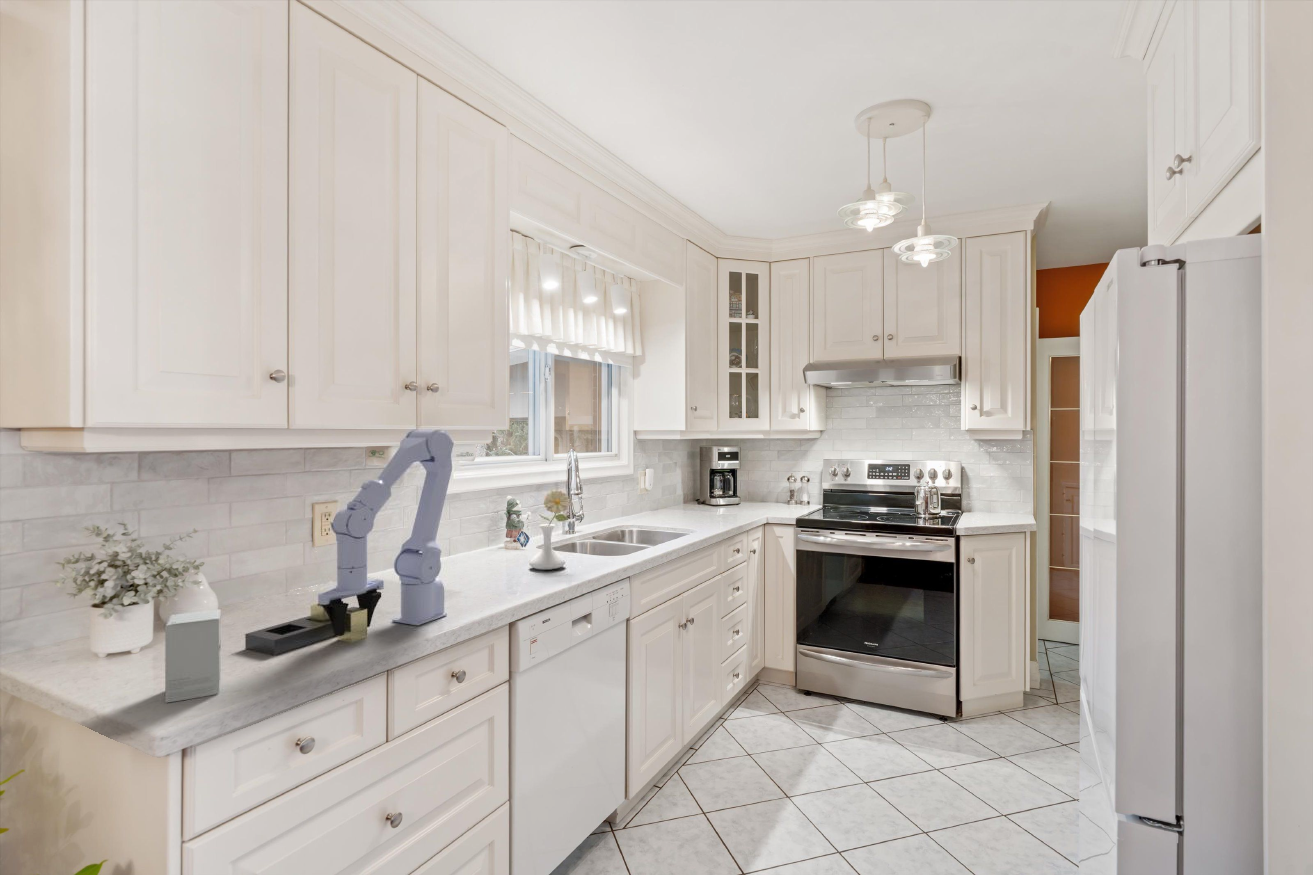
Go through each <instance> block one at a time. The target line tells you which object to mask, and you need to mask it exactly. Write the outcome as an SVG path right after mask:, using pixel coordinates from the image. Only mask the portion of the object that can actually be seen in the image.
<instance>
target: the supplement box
mask: <svg viewBox="0 0 1313 875" xmlns="http://www.w3.org/2000/svg"><path fill="white" fill-rule="evenodd" d="M221 614H222V613H221V609H218V608H217V609H210V610H209V609H208V610H202V611H192V612H185V613H177V614H172V615H169V618H168V620H167V621H166V624H165V630H164V632H165V638H164V639H165V641H164V642H165V643H164V644H165V646H164V647H165V648H164V650H165V654H164V655H165V658H164V660H165V661H164V662H165V663H164V664H165V665H164V666H165V670H164V671H165V672H164V673H165V676H164V678H165V682H164V683H165V684H164V686H165V688H164V691H165V693H164V694H165V697H164V699H165V700H164V703H173V702H180V701H185V700H191V699H197V698H203V697H210V696H215V695H219V693H220V683H221V675H222V674H221V671H222V670H221V668H222V667H221V665H222V661H221V659H222V657H221V656H222V652H221V651H222V648H221V647H222V645H221V643H222V632H221V631H222V615H221Z"/></svg>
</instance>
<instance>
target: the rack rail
mask: <svg viewBox="0 0 1313 875" xmlns="http://www.w3.org/2000/svg"><path fill="white" fill-rule="evenodd" d="M244 635H245V636H244V637H245V638H244V640H245V641H244V642H245V645H244V646H245V648H244V649H245V650H249V651H253V652H257V653H262V654H267V655H271V656H278V655H280V654H284V653H286V652H290V651H293V650H296V649H300V648H303V647H305V646H308V645H312V644H316V643H318V642H322V641H325V640H328V639H330V638H333V637H338V635H334V631H333V627H332V624H331V621H328V622H325V623H320V622H314V621H311V615H308V616H304V617H300V618H297V619H294V620H289V621H287V622H282V623H278V624H277V625H271V626H268V627H265V628H261V629H258V630H253V631H251V632H247V633H245V634H244Z"/></svg>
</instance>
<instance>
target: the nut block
mask: <svg viewBox="0 0 1313 875" xmlns="http://www.w3.org/2000/svg"><path fill="white" fill-rule="evenodd" d="M365 638H368V627H367V609H365V608H359V606H351V607H348V608H347V612H346V617H345V632H344V635H343V636H338V635H337V641H340V642H341V641H343V642H347V643H355V642H357V641H360V640H362V639H365Z"/></svg>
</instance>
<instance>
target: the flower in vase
mask: <svg viewBox="0 0 1313 875" xmlns="http://www.w3.org/2000/svg"><path fill="white" fill-rule="evenodd" d="M570 501H571V499H569V496H568V494H567V493H566V492H565V491H564V492H563V491H562V490H556V489H555V490H554V491H551V492H549V493H546V496H545V498H544V501H543V505H544V507H545V509H546V511H548V512H550V513H554V515H553V517H552V518H551V520H550V519H549V518H548V517H545V516H542V514H539V516H540V518H542V519H544V520H547V521H549V523H547V524H546V523H544V524H539V528H540V529H541V531H542V534H543V536H542V537H543V547H542V549H541V550H540V551H539V552H538V553H536V554H535V555H534V556H533V557H532V558H531V560H529V563H528V565H529V566H530V568H534V569H536V570H545V571H546V570H555V569H556V570H557V569H559V568H562V567H564V566H565V564H566V560H565V559H564V558H563V557H562V556H561V555H560V554H559V553H557V552H556V551H555V550H554V549H553V547H552V533H553V530H554V529H555V527H556V524H554V523H553V524H552V522H553V520H554V519H555V520H557V522H564V521H567V520H569V518H568V516H566V515H565V514H564V513H562V512H565V511H567V510H568V509H569V508H568V507H569V506H570V503H571V502H570Z"/></svg>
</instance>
